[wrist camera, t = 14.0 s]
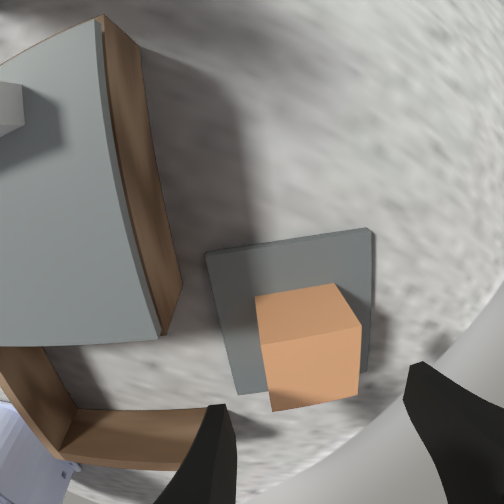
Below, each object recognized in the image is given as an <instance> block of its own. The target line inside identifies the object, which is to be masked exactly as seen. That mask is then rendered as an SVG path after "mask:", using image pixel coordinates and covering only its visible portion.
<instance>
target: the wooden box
mask: <svg viewBox="0 0 504 504" xmlns="http://www.w3.org/2000/svg"><path fill="white" fill-rule="evenodd" d="M93 19H95V20H96V21H98V22H99V23H100V24H101V30H102V46H103V59H104V69H105V79H106V88H107V96H108V104H109V111H110V118H111V125H112V132H113V138H114V144H115V150H116V155H117V161H118V166H119V171H120V176H121V181H122V186H123V191H124V195H125V200H126V205H127V209H128V213H129V218H130V222H131V226H132V230H133V234H134V238H135V242H136V246H137V250H138V253H139V257H140V261H141V264H142V268H143V271H144V275H145V278H146V282H147V285H148V289H149V292H150V295H151V299H152V302H153V305H154V308H155V311H156V314H157V318H158V321H159V324H160V327H161V330H162V331H161V333H160V336H163V335H167V331H168V328H169V325H170V322H171V319H172V316H173V313H174V310H175V307H176V304H177V301H178V298H179V295H180V292H181V289H182V286H183V283H182V279H181V275H180V271H179V267H178V263H177V259H176V254H175V250H174V246H173V242H172V237H171V233H170V228H169V224H168V219H167V214H166V210H165V205H164V200H163V195H162V190H161V185H160V180H159V175H158V170H157V164H156V159H155V153H154V147H153V142H152V136H151V130H150V123H149V117H148V110H147V104H146V97H145V89H144V82H143V74H142V66H141V57H140V48H139V45H138V44H136V43H135V42H134V41H133V40H132V39H131V38H130V37H129V36H128V35H127V34H126V33H124V32H123V31H122V30H121V29H120V28H119V27H118V26H117V25H116V24H115V23H113V22H112V21H111V20H110V19H109V18H108V17H107V16H105V15H104V14H103V15H100V16H97V17H95V18H92V19H90V20H93ZM90 20H87V21H85V22H88V21H90ZM85 22H82V23H80V24H83V23H85ZM80 24H77V25H75V26H73V27H76V26H78V25H80ZM73 27H71V28H73ZM71 28H68V29H66V30H69V29H71ZM66 30H64V31H66ZM64 31H62V32H64ZM62 32H60V33H62ZM60 33H57V34H55V35H53V36H51V37H49V38H52V37H54V36H56V35H58V34H60ZM49 38H47V39H49ZM47 39H45V40H47ZM45 40H43V41H45ZM43 41H41V42H39V43H37V44H35V45H34V46H36V45H38V44H40V43H42V42H43ZM34 46H32V47H34ZM32 47H30V48H32ZM30 48H28V49H30ZM28 49H26V50H24V51H23V52H25V51H27V50H28ZM23 52H21V53H23ZM21 53H19V54H21ZM19 54H17V55H16V56H18V55H19ZM16 56H14V57H16ZM14 57H12V58H11V59H13V58H14ZM11 59H9V60H11ZM9 60H7V61H6V62H8V61H9ZM6 62H4V63H6ZM4 63H3V64H4ZM3 64H1V65H3ZM1 65H0V66H1ZM0 387H1V388H2V390H3V391H4V393H5V394H6V396H7V397H8V399H9V400H10V402H11V403H12V405H13V406H14V408H15V409H16V410H17V412H18V413H19V414H20V416H21V417H22V419H23V420H24V421H25V423H26V424H27V425H28V427H29V428H30V429H31V430H32V432H33V433H34V434H35V435H36V437H37V438H38V439H39V440H40V442H41V443H42V444H43V445H44V446H45V448H46V449H47V450H48V451H49V452H50V453H51V454H52V456H53V457H54V458H55V459H60V460H65V461H71V462H77V463H83V464H90V465H97V466H105V467H113V468H124V469H136V470H155V471H178V469H179V467H180V465H181V464H182V462H183V460H184V458H185V457H186V455H187V453H188V451H189V449H190V447H191V445H192V443H193V441H194V439H195V437H196V435H197V432H198V430H199V428H200V425H201V423H202V420H203V417H204V415H205V412H206V409H207V408H196V409H178V410H146V411H124V410H92V409H78V408H77V407H76V405H75V404H74V402H73V400H72V399H71V397H70V396H69V394H68V392H67V391H66V389H65V387H64V386H63V384H62V382H61V381H60V379H59V377H58V375H57V374H56V372H55V370H54V368H53V366H52V364H51V363H50V361H49V359H48V357H47V355H46V353H45V351H44V349H43V347H42V346H0Z"/></svg>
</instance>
